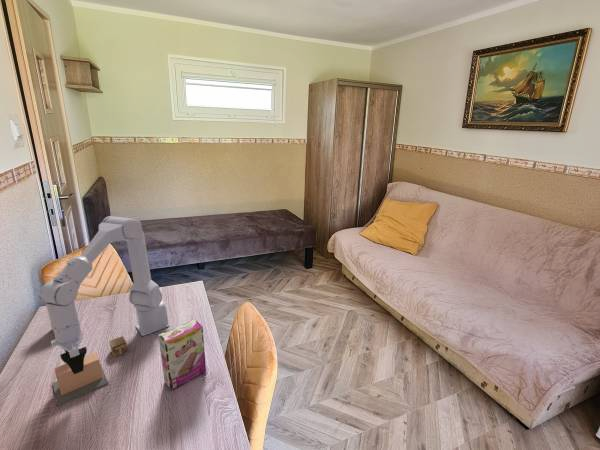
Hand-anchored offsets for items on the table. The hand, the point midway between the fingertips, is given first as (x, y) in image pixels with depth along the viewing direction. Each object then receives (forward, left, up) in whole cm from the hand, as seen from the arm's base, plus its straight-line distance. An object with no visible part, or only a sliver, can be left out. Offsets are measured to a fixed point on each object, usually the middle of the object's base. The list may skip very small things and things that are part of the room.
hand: (76, 364), depth 91 cm
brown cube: (-12, -8, -7) cm, 16 cm away
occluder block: (0, 0, -6) cm, 6 cm away
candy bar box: (-24, +17, -7) cm, 30 cm away
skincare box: (0, -35, -7) cm, 36 cm away
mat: (0, 0, -7) cm, 7 cm away
